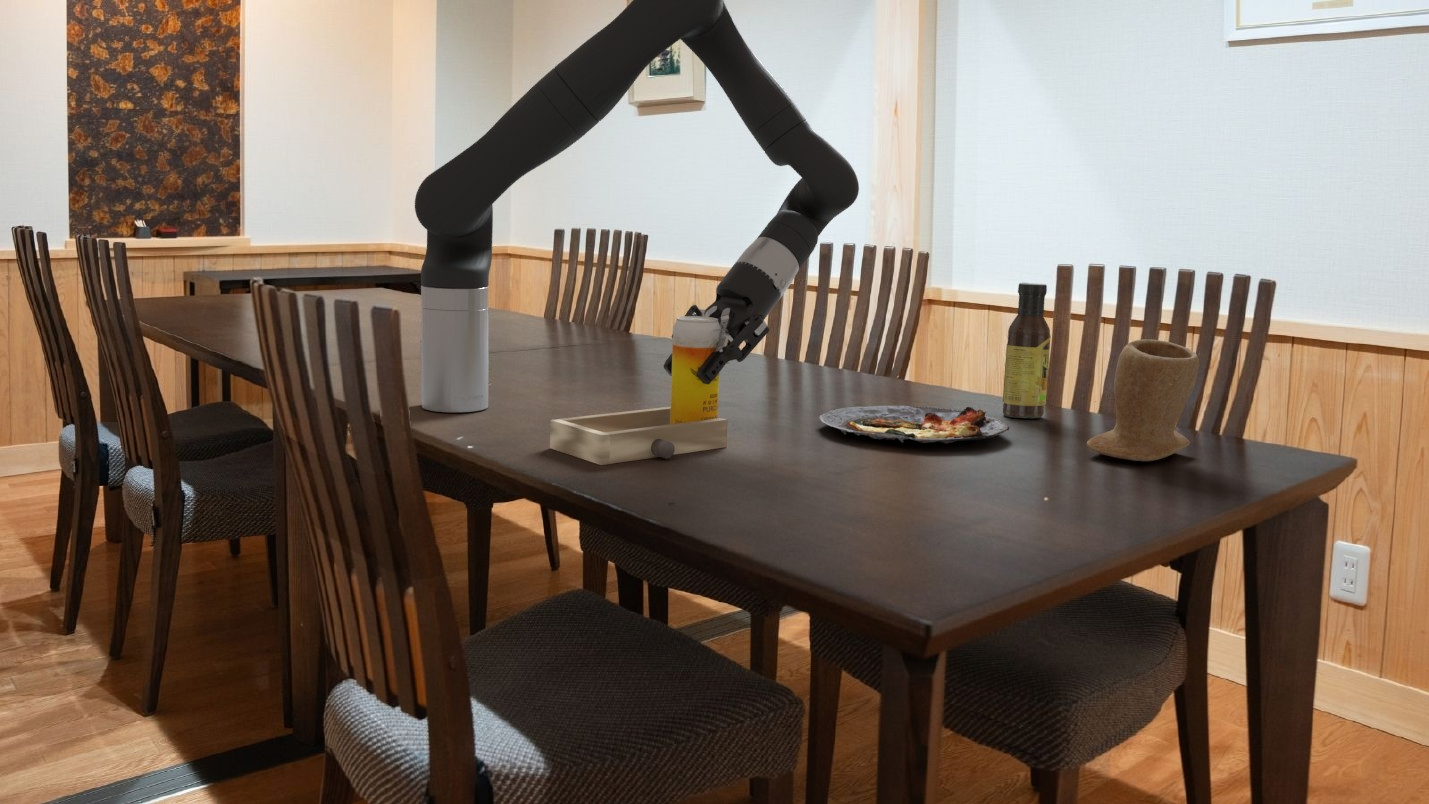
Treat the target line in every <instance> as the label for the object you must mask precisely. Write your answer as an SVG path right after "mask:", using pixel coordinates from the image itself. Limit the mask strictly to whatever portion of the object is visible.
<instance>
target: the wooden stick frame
mask: <svg viewBox="0 0 1429 804" xmlns="http://www.w3.org/2000/svg"><path fill="white" fill-rule="evenodd" d="M670 411H671V406H663V407H654V408H648V409H639V410H636V409H635V410H628V411H621V412H620V411H619V412H610V413H601V414H592V415H583V416H574V417H565V418H557V419H550V421H549V422H550V423H549V424H550V425H549V449H552V450H554V451H557V452H560V453H564V454H566V455H570V456H573V457H575V458H578V459H582V460H585V461H588V462H590V463H594V464H596V465H600V466H605V465H612V464H616V463H617V464H619V463H625V462H626V463H627V462H633V461H639V460H647V459H653V458H662V459H670V458H672V457H673V456H674V455H682V454H687V453H689V454H690V453H694V452H695V453H696V452H700V451H707V450H708V451H709V450H715V449H721V448H727V447H728V423H729V422H728V419H727V418H722V417H719V418H718V419H710V420H702V421H694V422H686V423H678V424H670Z"/></svg>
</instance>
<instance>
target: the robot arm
mask: <svg viewBox="0 0 1429 804" xmlns="http://www.w3.org/2000/svg"><path fill="white" fill-rule="evenodd" d="M624 8H625V9H623V10H622V12H620V13H619V14H618V15H617V16H616V17H615V18H613V20H612V21H611V22H609V23H608V24H606V26H605V27H603V28H602V29H600V30H599V31H597V32H596V33H595V34H593V35H592V36H591V37H589V38H588V39H587V40H586V41H585V42H584V43H582V44H581V45H580V46H579V47H577V48H576V49H575V50H574V51H573V52H571V53H570V54H568V56H567V57H565V58H564V59H562V60H561V61H560V62H559V63H558V64H556V65H555V66H554V67H553V68H552V69H550V71H548V72H547V73H546V74H545V75H544V76H543V77H542V78H541V79H539V80H538V81H537V82H536V83H535V84H533V86H532V87H530V88H529V90H528V91H526V92H525V93H524V94H523V96H522V97H520V98H519V99H518V100H517V101H516V102H515V103H514V104H513V105H512V106H511V107H510V108H509V109H508V110H506V112H505V113H503V115H502V116H501V117H500V118H499V119H498V120H497V122H495V123H494V125H492V126H491V128H490V129H489V130H488V131H487V132H485V134H484V135H482V136H481V137H480V138H479V139H478V140H477V141H475V142H474V143H473V144H471V145H469V147H467V148H466V149H464V150H463V151H462V152H460V153H459V154H457V155H456V156H455V157H454V158H452V159H450V160H449V161H447V162H446V163H445V164H443V165H441V166H440V167H439V168H437V169H436V170H434V171H433V172H432V173H430V174H428V175H427V177H425V178H424V179H423V180H422V182H421V184H420V185H419V186H418V189H417V192H416V195H415V197H414V198H415V199H414V211H415V214H416V218H417V220H418V222H419V223H420V224H421V226H422V227H423V228H424V229H425V230H426V252H425V257H424V259H423V263H422V266H421V270H420V285H421V286H420V290H421V291H420V293H421V295H420V300H421V303H420V304H421V306H420V307H421V313H420V314H421V316H420V317H421V338H420V347H419V348H420V349H419V350H420V404H421V408H422V409H424V410H427V411H431V412H438V413H439V412H441V413H471V412H478V411H479V412H480V411H484V410H486V409H487V408H488V407H489V282H490V281H489V279H490V278H489V277H490V271H491V266H492V259H493V234H494V233H493V230H494V229H493V228H494V227H493V225H494V223H493V222H494V221H493V220H494V219H493V218H494V216H493V215H494V208H493V204H494V203H495V202H496V201H497V200H498V199H499V198H500V197H501V196H502V195H503V194H504V193H505V192H506V191H507V190H508V189H509V188H510V187H511V186H512V185H514V184H515V183H516V182H517V181H519V180H520V179H521V178H522V177H523V176H525V175H526V174H528V173H530V172H531V171H533V170H535V169H536V168H538V167H540V166H541V165H543V164H546V162H548V161H551V159H553V158H555V157H556V156H558V155H559V154H561V153H562V152H564V151H566V150H567V149H568V148H569V147H571V146H572V145H573V144H575V143H576V142H577V141H579V140H580V139H581V138H583V137H584V136H585V135H587V133H588V132H589V131H591V130H592V129H593V128H595V126H596V125H598V124H599V123H600V122H601V121H602V120H603V119H604V118H606V116H607V115H609V113H610V112H611V111H612V110H613V109H614V108H615V107H616V105H617V104H619V102H620V101H621V100H622V98H623V97H624V96H625V94H627V92H628V91H629V89H630V88H631V87H632V85H633V84H634V83H635V81H636V80H637V79H638V78H639V76H640V75H641V74H642V73H643V71H644V70H645V69H646V68H647V67H648V66H649V65H650V64H651V63H652V62H653V61H654V60H655V59H656V58H657V57H659V56H660V55H661V54H663V53H664V52H665V51H666V50H667V49H669V48H670V47H671V46H673V45H674V44H676V43H677V42H679V40H681V41H682V42H683V44H685V45H686V47H688V49H690V50H691V51H692V52H693V54H695V55H696V57H698V59H699V60H700V61H701V62H702V64H703V65H704V66H705V67H706V68H707V70H708V71H709V72H710V73H711V75H712V77H714V79H715V80H716V81H717V82H718V84H719V86H720V87H721V89H722V90H723V92H724V94H725V95H726V96H727V98H728V99H729V102H730V103H731V104H732V106H733V107H734V110H735V112H736V113H737V114H738V116H739V117H740V119H741V120H742V122H743V124H744V125H745V126H746V128H747V129H748V131H749V132H750V133H751V135H752V136H753V138H754V139H755V141H756V143H758V145H759V147H760V148H761V150H763V152H764V154H765V155H766V156H767V157H768V158H769V160H770V161H771V162H772V163H773V164H774V165H776V166H778V167H785V166H789V167H790V168H791V169H793V170H794V172H795V173H797V175H798V176H800V177H801V178H800V179H798V181H797V183H796V184H795V185H794V186H793V188H792V189H791V190H790V191H789V193H788V194H787V196H786V197H785V198H784V201H783V202H782V204H781V205H780V207H779V209H778V211H777V213H776V214H775V215H774V217H773V218H772V219H771V220H770V221H768V223H767V225H766V226H765V227H764V228H763V230H762V231H761V233H760V234H759V235H758V236H757V237H756V238H755V240H754V241H753V242H752V243H751V244H750V245H749V246H748V247H747V248H746V249H744V251H743V252H742V253H741V255H740V256H739V258H738V259H737V260H736V261H735V263H734V264H733V265H732V267H730V269H729V270H728V271H727V273H726V274H725V275H724V276H723V278H722V279H721V281H720V282H719V283H718V284H717V286H716V289H715V293H716V295H715V300H714V302H712V303H711V304H710V305H709V306H708V307H707V308H706V309H700V308H699V306H697V304H693V305H691V306H690V307H689V309H688V310H687V312H686V313H685V314H684V316H701V317H712V318H717V319H718V322H719V325H720V327H721V330H720V333H719V341H718V343H717V345H716V349H715V350H716V352H712V353H711V354H710V355H709V357H708V358H707V359H706V361H705V362H704V363H703V364H702V366H701V367H700V368H699V370H698V371H697V376H698V378H699V379H700V380H701V381H702V383H704V384H710V383H711V381H712V380H713V379H715V378H716V376H717V374H719V375H720V372H721V371H722V370H723V369H724V367H725V366H726V364H727V365H728V364H731V363H732V362H733V361H734V360H736V361H737V362H738V363H741V362H743V361H744V360H745V359H746V358H747V357H748V356H749V355H750V353H751V352H752V351H753V350H754V349H755V348H756V347H757V346H758V344H759V343H760V342H761V341H762V340H763V339H764V337H766V336H767V334H768V333H770V327H769V326H768V325H767V323H766V321H765V320H766V319H767V317H768V315H770V312H771V311H772V310H773V309H774V307H775V306H776V305H777V303H778V302H779V301H780V299H781V298H782V297H783V295H784V294H785V292H786V291H787V290H788V289H789V287H790V286H791V285H792V283H793V281H794V279H795V278H796V276H797V273H799V270H800V269H801V268H802V267H803V265H804V264H805V263H806V261H807V260H808V258H810V256H811V255H812V253H813V252H814V250H815V248H816V247H817V244H818V240H819V236H820V235H821V233H822V232H823V231H824V229H825V228H826V227H827V226H828V225H829V223H831V221H832V220H833V219H835V218H836V217H837V216H839V215H840V214H841V213H843V212H844V211H845V210H847V209H848V208H850V207H851V206H852V205H853V204H854V203H855V202H856V200H857V199H858V195H859V190H860V187H859V185H860V184H859V181H858V176H857V174H856V172H855V170H854V168H853V166H852V165H851V164H850V162H849V160H847V158H845V157H844V156H843V154H841V153H840V152H839V151H838V150H837V149H836V148H835V147H834V146H832V144H830V142H828V141H827V140H826V139H825V138H824V137H822V136H821V135H820V134H819V133H817V132H816V131H815V130H814V129H813V128H812V127H811V125H810V123H809V122H808V121H807V119H806V118H805V116H804V114H803V113H802V112H801V110H800V109H799V108H798V106H797V104H795V103H796V102H794V101H793V99H792V98H791V96H790V95H789V94H788V92H787V91H786V90H785V89H784V87H783V86H782V85H781V83H780V82H779V81H778V80H777V79H776V78H775V77H774V76H773V74H772V73H771V72H770V71H769V70H768V69H767V67H766V66H765V65H764V64H763V63H762V61H761V60H760V59H759V58H758V57H757V56H756V54H755V53H754V52H753V50H752V49H751V48H750V47H749V45H748V43H747V41H746V40H745V39H744V37H743V35H742V33H741V32H740V30H739V29H738V26H737V24H736V23H735V22H734V19H733V17H732V15H731V13H730V11H729V9H728V7H727V4H726V1H725V0H631V2H630V3H629V4H628V5H627V6H626V7H624ZM671 338H672V340H673V333H672V334H671ZM743 342H744V343H745V344H744V346H743V347H742V348H740V346H741V344H742V343H743ZM663 369H664V371H665V372H666V373H667V374H668V375H669V376H670V377H672V353H671V354H670V355H669V356H668V358H666V360H665V361H664V364H663Z"/></svg>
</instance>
